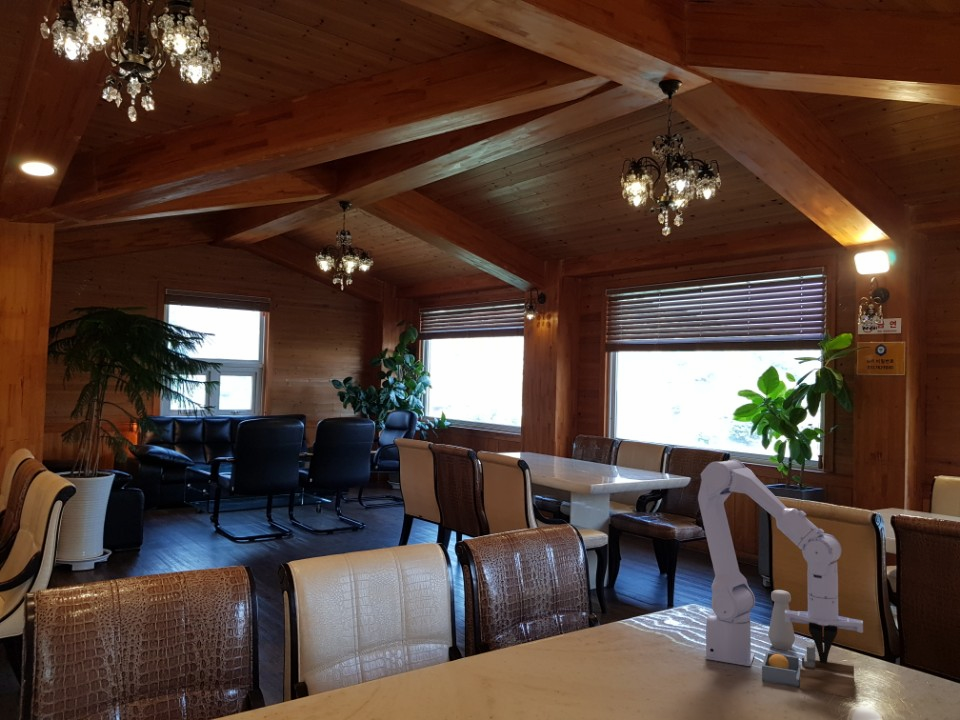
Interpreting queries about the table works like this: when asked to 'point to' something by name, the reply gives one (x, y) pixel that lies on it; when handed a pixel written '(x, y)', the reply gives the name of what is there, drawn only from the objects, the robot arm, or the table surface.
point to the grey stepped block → (810, 656)
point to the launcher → (829, 678)
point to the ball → (778, 661)
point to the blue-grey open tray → (782, 671)
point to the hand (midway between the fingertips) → (823, 661)
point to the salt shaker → (781, 622)
